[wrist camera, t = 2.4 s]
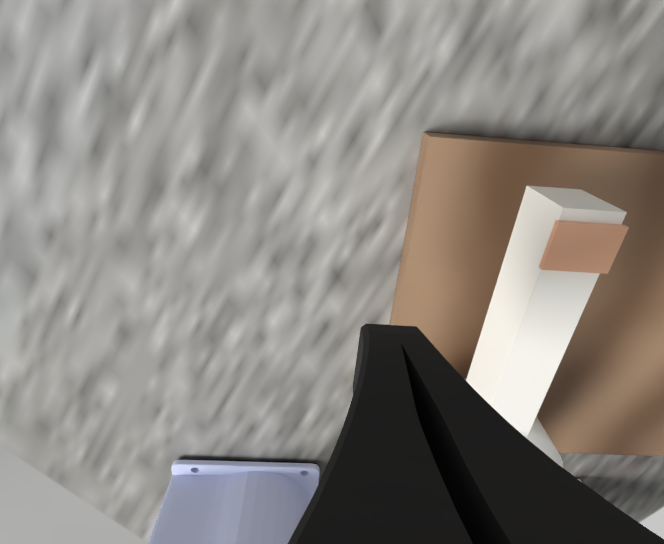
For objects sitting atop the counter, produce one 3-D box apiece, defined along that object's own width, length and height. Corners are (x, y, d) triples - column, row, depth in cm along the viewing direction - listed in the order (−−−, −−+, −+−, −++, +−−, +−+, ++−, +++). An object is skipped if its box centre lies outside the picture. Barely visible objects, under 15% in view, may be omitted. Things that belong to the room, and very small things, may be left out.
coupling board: (370, 430, 25) (377, 482, 22) (423, 131, 17) (447, 147, 14) (678, 441, 26) (725, 491, 23) (871, 167, 18) (985, 189, 15)
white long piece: (514, 485, 22) (536, 534, 20) (388, 481, 22) (396, 532, 19) (648, 194, 14) (710, 219, 12) (457, 180, 14) (484, 204, 12)
